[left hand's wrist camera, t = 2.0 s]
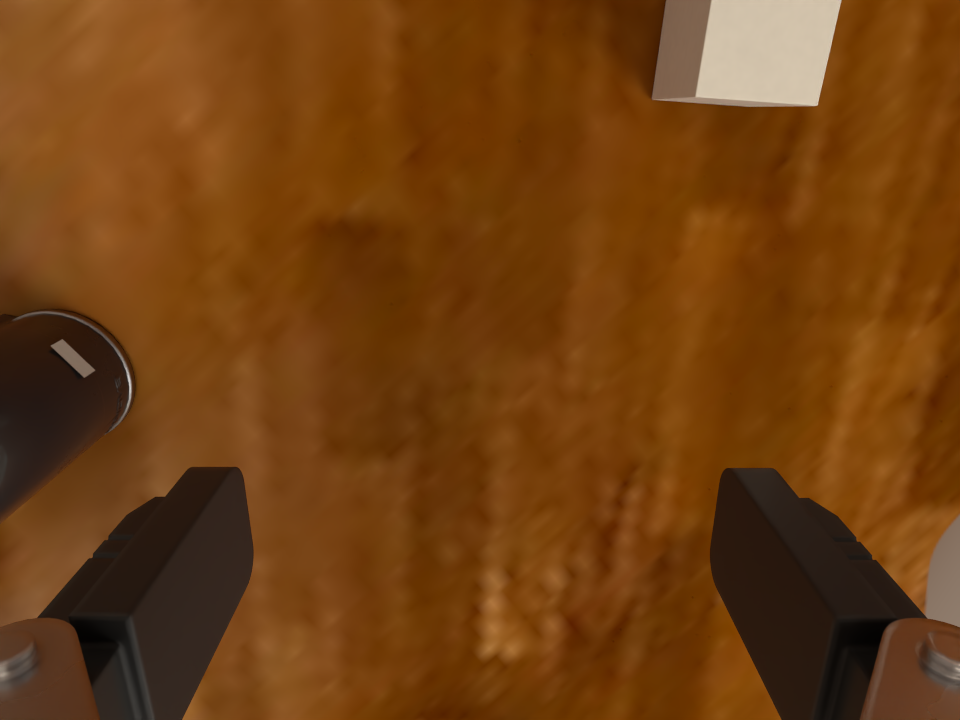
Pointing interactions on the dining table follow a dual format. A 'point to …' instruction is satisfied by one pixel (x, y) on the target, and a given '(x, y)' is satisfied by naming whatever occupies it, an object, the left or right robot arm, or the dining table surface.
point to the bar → (744, 51)
